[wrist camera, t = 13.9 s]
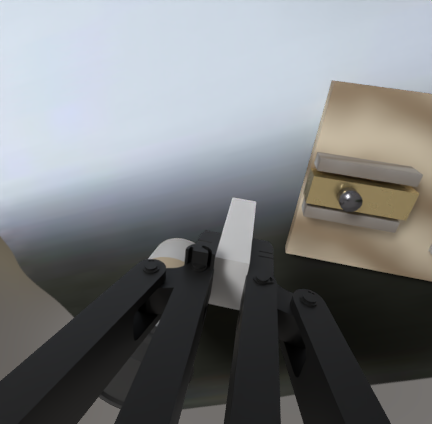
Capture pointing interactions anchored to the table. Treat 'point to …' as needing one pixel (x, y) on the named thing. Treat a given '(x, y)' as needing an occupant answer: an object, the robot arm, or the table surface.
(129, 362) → the coffee cup
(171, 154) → the table surface
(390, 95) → the dock
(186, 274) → the robot arm
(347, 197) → the bar
